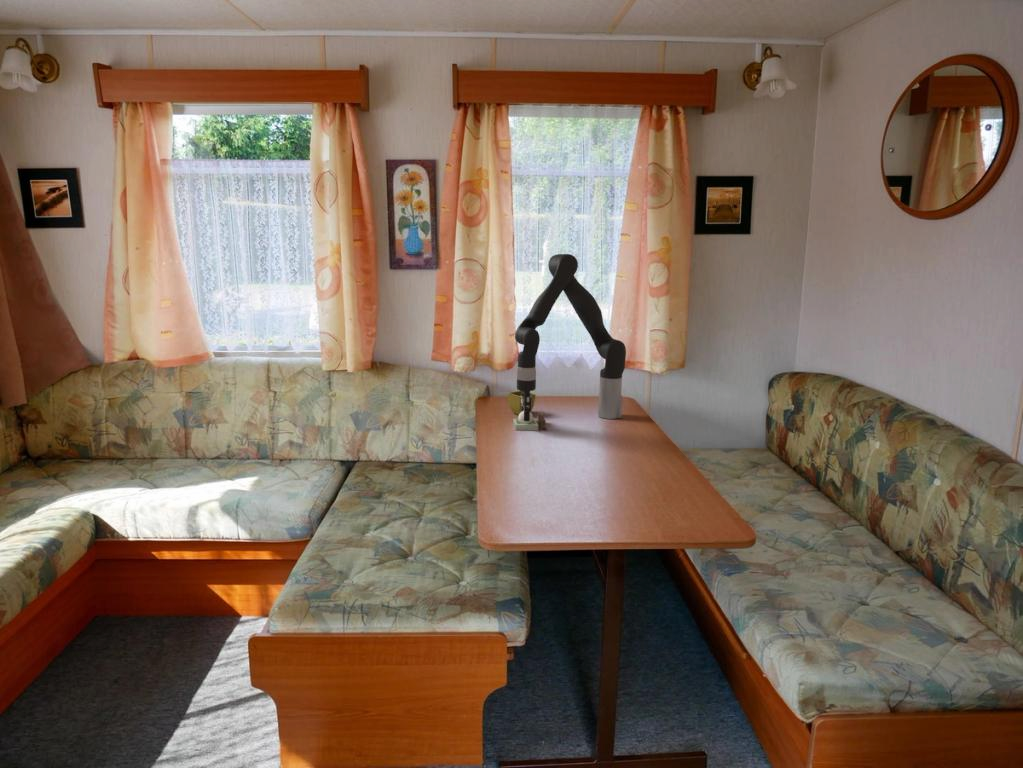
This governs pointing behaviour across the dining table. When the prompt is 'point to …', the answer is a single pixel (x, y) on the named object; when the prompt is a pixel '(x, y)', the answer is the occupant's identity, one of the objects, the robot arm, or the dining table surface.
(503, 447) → the dining table surface
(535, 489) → the dining table surface
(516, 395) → the flower pot
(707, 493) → the dining table surface
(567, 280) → the robot arm
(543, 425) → the rail
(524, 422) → the ball
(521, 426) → the dish
